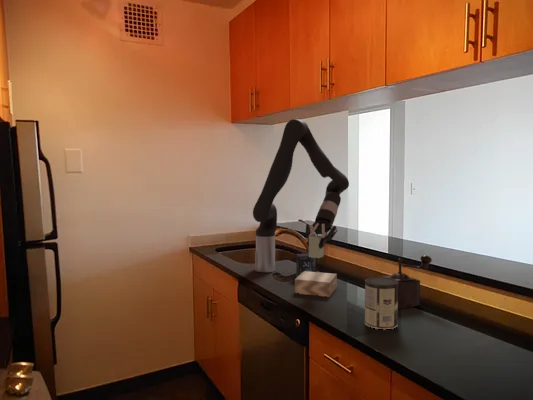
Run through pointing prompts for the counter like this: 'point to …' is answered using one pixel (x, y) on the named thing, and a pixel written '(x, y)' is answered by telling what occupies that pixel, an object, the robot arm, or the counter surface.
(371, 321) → the coffee can
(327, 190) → the robot arm
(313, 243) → the green block
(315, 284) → the maple block
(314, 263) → the box
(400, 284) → the coffee grinder
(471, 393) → the counter surface
